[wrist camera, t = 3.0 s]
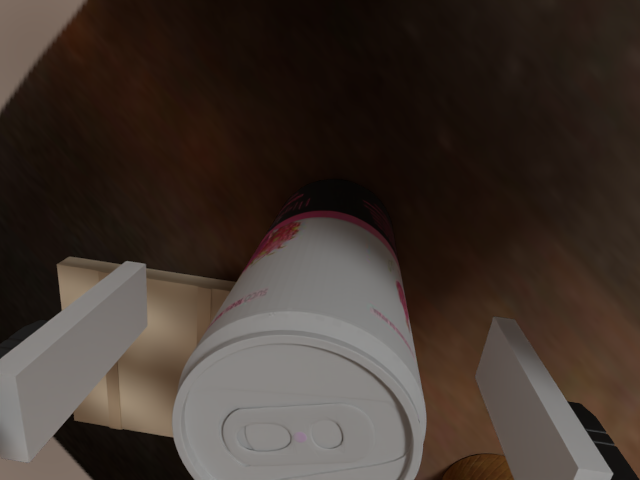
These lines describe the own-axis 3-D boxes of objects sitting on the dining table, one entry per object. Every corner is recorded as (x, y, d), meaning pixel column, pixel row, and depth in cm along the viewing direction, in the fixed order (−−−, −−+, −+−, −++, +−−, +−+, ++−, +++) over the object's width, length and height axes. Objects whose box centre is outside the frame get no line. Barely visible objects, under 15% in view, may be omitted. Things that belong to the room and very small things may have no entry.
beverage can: (267, 185, 24) (131, 339, 10) (386, 170, 23) (421, 316, 9) (288, 290, 26) (200, 537, 12) (397, 280, 25) (438, 535, 11)
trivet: (69, 256, 27) (55, 265, 26) (260, 285, 26) (255, 296, 25) (84, 408, 31) (73, 421, 30) (248, 435, 31) (243, 450, 29)
